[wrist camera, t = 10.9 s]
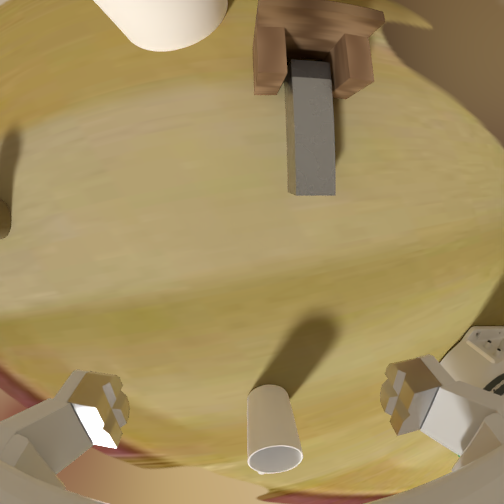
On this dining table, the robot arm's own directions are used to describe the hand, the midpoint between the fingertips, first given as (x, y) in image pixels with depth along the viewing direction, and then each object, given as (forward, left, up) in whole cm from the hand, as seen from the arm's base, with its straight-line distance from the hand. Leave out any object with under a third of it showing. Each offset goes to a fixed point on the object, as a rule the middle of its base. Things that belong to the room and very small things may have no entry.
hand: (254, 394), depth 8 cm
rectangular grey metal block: (-7, -11, -27) cm, 30 cm away
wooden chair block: (-7, -18, -27) cm, 33 cm away
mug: (-2, +27, -27) cm, 39 cm away
